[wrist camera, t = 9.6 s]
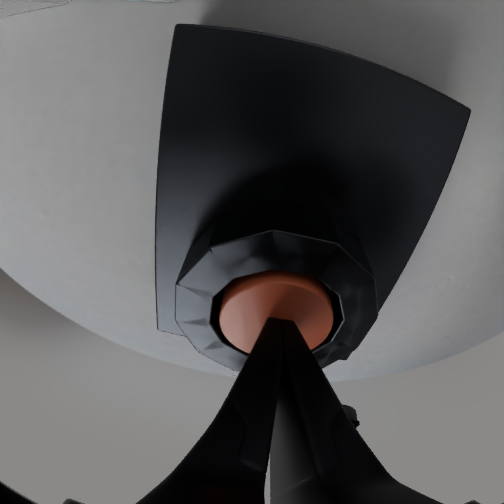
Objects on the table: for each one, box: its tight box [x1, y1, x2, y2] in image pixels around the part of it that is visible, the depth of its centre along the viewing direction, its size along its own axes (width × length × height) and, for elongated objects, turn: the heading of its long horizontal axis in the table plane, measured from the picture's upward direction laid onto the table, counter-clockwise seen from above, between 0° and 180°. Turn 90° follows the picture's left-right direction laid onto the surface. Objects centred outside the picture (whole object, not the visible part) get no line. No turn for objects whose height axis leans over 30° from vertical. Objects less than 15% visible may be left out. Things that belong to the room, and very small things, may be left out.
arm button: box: [219, 269, 334, 353], centre depth 10 cm, size 4×4×2 cm
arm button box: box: [155, 24, 471, 372], centre depth 10 cm, size 12×9×4 cm
